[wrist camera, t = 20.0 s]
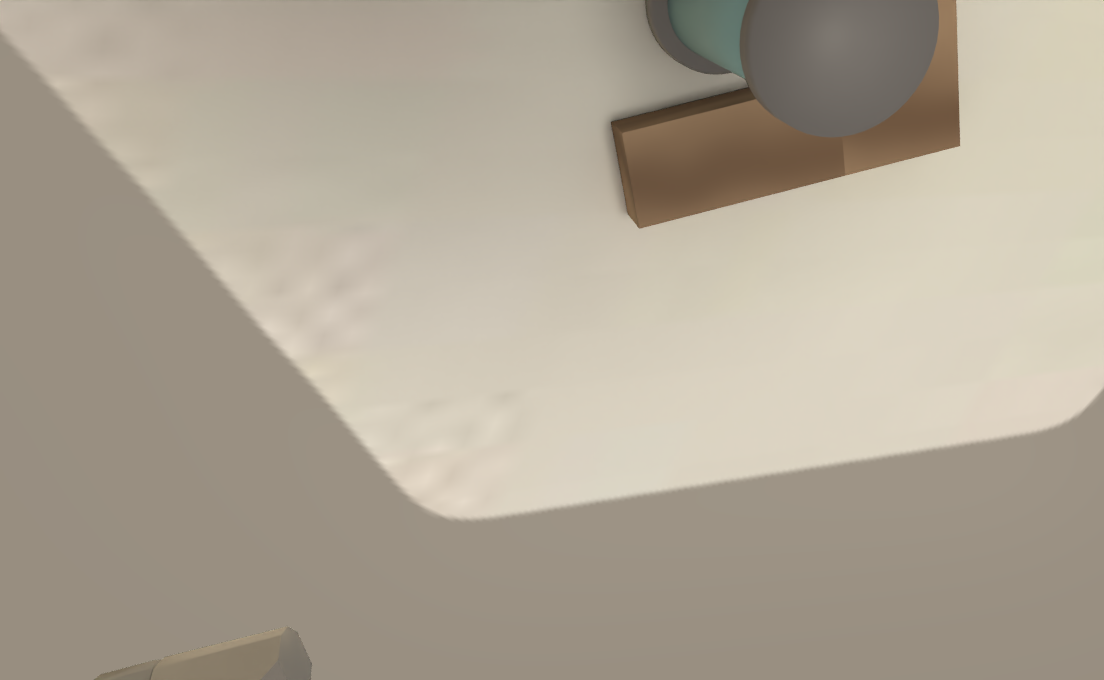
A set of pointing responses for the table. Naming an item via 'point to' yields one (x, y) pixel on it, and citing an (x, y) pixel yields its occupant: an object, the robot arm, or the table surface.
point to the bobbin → (807, 54)
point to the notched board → (773, 144)
